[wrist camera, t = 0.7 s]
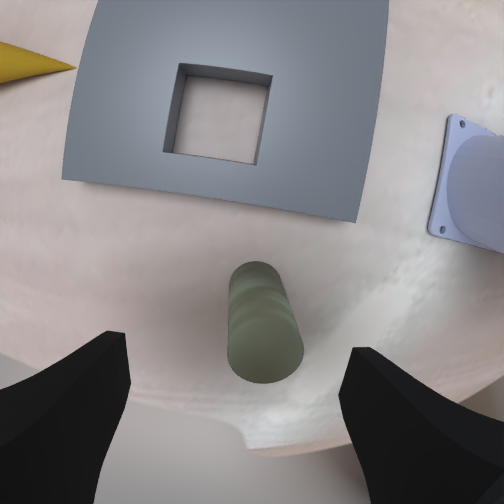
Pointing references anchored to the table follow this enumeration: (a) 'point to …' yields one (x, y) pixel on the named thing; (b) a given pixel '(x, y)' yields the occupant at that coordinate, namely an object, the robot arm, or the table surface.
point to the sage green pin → (261, 326)
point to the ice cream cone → (25, 63)
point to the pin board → (238, 69)
